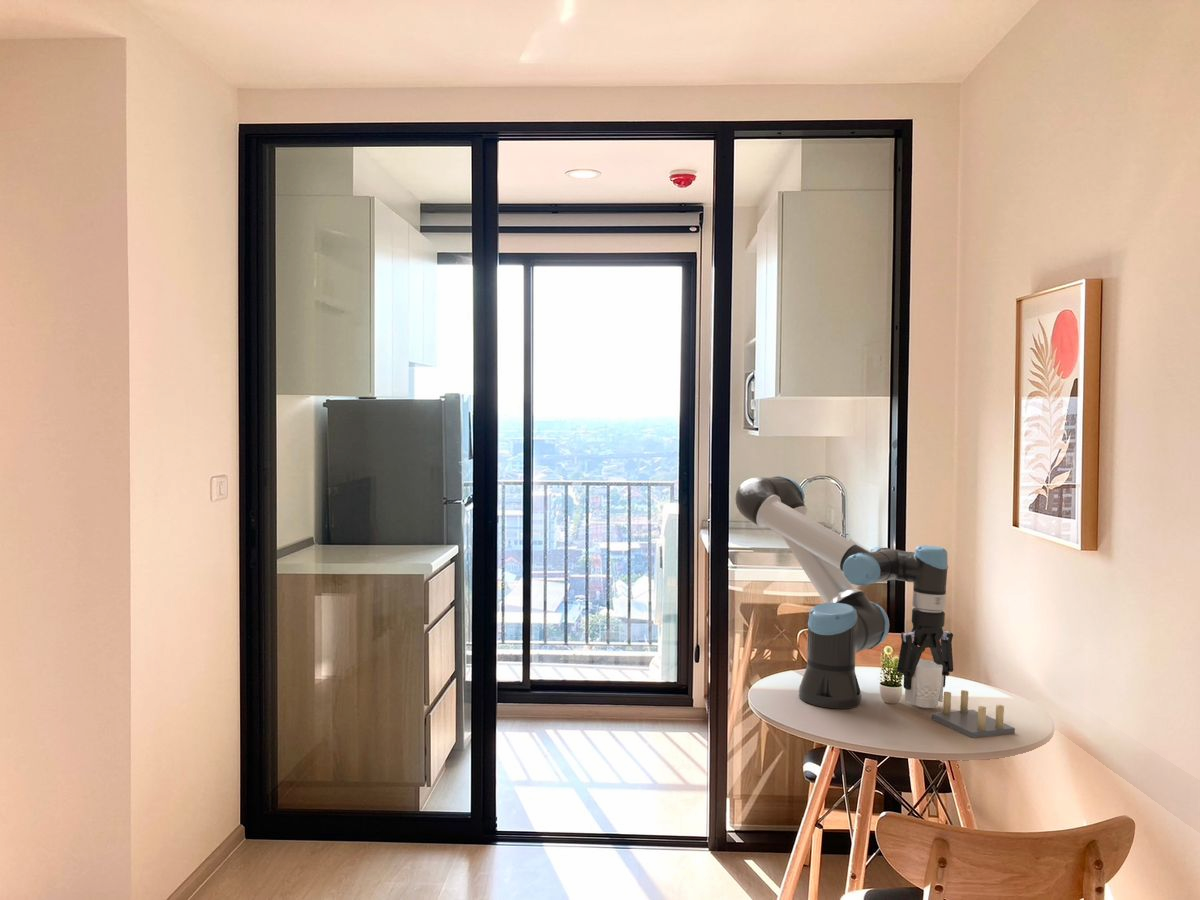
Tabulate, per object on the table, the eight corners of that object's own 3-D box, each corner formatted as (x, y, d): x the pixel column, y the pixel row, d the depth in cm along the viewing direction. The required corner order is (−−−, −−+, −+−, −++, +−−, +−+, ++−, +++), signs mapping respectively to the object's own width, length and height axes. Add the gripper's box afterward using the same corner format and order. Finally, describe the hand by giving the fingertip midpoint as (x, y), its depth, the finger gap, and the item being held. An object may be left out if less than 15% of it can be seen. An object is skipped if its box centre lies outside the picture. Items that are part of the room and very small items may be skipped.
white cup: (945, 710, 201) (948, 669, 201) (913, 708, 201) (915, 667, 201) (933, 699, 209) (935, 660, 208) (901, 697, 209) (904, 658, 209)
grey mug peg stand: (971, 737, 184) (972, 710, 184) (931, 718, 197) (932, 692, 197) (1014, 733, 188) (1015, 706, 188) (972, 714, 200) (973, 689, 200)
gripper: (903, 614, 197) (898, 708, 198) (973, 611, 204) (968, 703, 204) (883, 607, 205) (879, 698, 205) (951, 604, 211) (946, 693, 212)
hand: (923, 701), depth 205 cm, fingers closed on white cup, 8 cm apart
